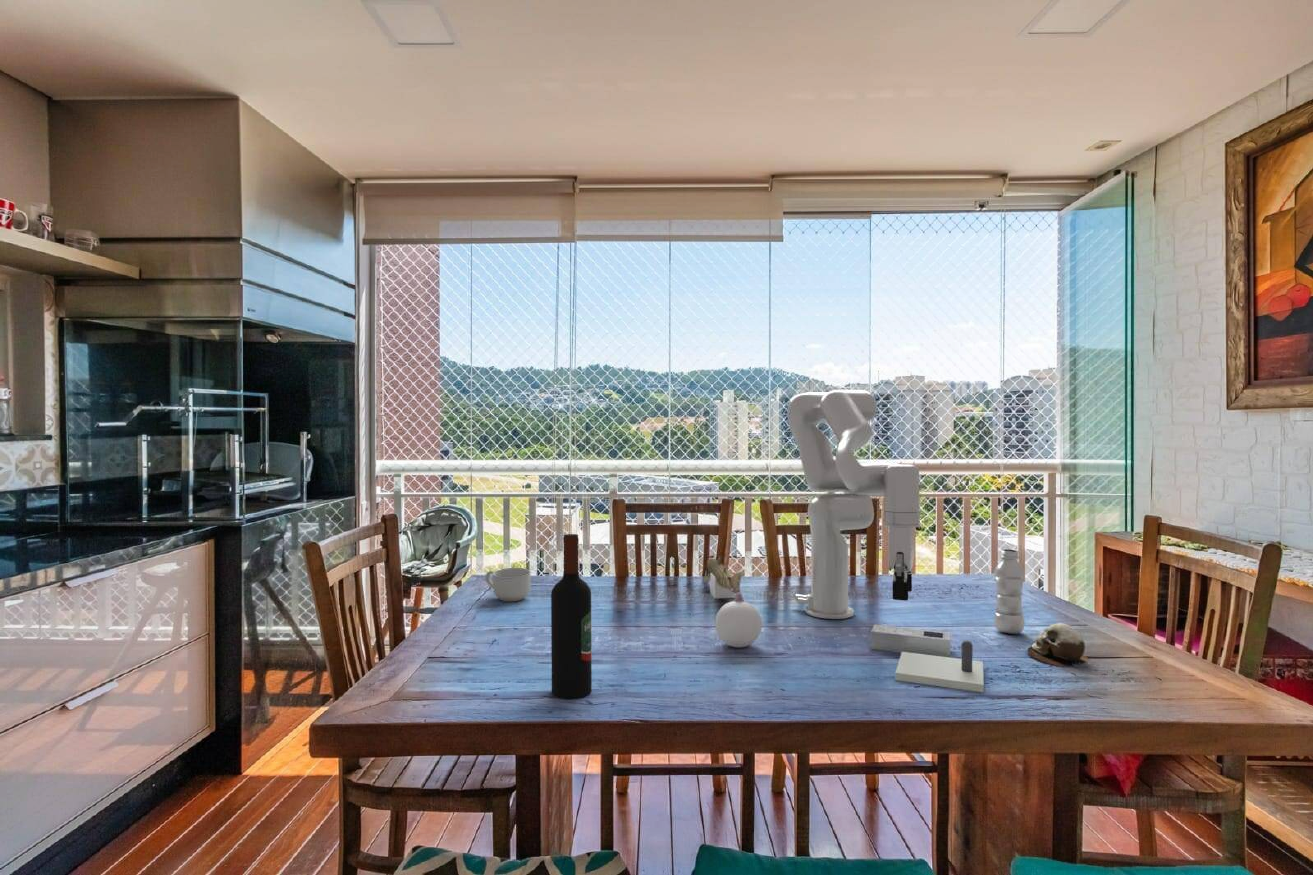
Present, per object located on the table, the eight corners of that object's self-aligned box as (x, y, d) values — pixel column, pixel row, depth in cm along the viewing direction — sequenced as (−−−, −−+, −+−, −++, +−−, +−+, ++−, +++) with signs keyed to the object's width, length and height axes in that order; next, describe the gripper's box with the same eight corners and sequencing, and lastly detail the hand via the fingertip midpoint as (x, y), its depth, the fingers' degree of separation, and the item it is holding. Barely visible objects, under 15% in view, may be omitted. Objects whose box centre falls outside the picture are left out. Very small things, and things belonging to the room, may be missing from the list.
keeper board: (895, 680, 144) (895, 642, 144) (901, 658, 157) (902, 624, 157) (983, 692, 138) (983, 653, 138) (982, 668, 151) (983, 633, 150)
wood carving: (723, 614, 192) (723, 572, 192) (697, 584, 227) (697, 548, 226) (756, 613, 193) (756, 571, 193) (725, 583, 228) (725, 547, 228)
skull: (1011, 649, 160) (1032, 611, 163) (1035, 675, 163) (1055, 638, 166) (1062, 664, 149) (1083, 623, 152) (1087, 692, 152) (1107, 651, 155)
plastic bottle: (1027, 637, 172) (1029, 553, 171) (997, 635, 173) (998, 552, 172) (1020, 629, 178) (1021, 548, 177) (990, 628, 179) (991, 547, 179)
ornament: (735, 636, 173) (735, 586, 172) (770, 646, 166) (770, 594, 165) (706, 646, 166) (706, 593, 165) (741, 656, 158) (742, 602, 158)
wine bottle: (552, 684, 142) (552, 532, 141) (591, 683, 142) (591, 531, 142) (550, 699, 134) (549, 538, 133) (591, 698, 135) (590, 538, 134)
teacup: (538, 597, 210) (538, 570, 210) (512, 605, 201) (512, 577, 201) (503, 591, 217) (503, 564, 217) (476, 599, 208) (476, 571, 208)
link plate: (870, 648, 163) (871, 631, 163) (874, 641, 169) (874, 624, 169) (949, 658, 157) (949, 640, 157) (950, 650, 162) (950, 632, 162)
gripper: (888, 514, 172) (889, 586, 172) (879, 522, 156) (880, 602, 156) (922, 515, 169) (922, 589, 169) (916, 524, 153) (917, 605, 153)
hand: (902, 595), depth 163 cm, fingers open, 9 cm apart
